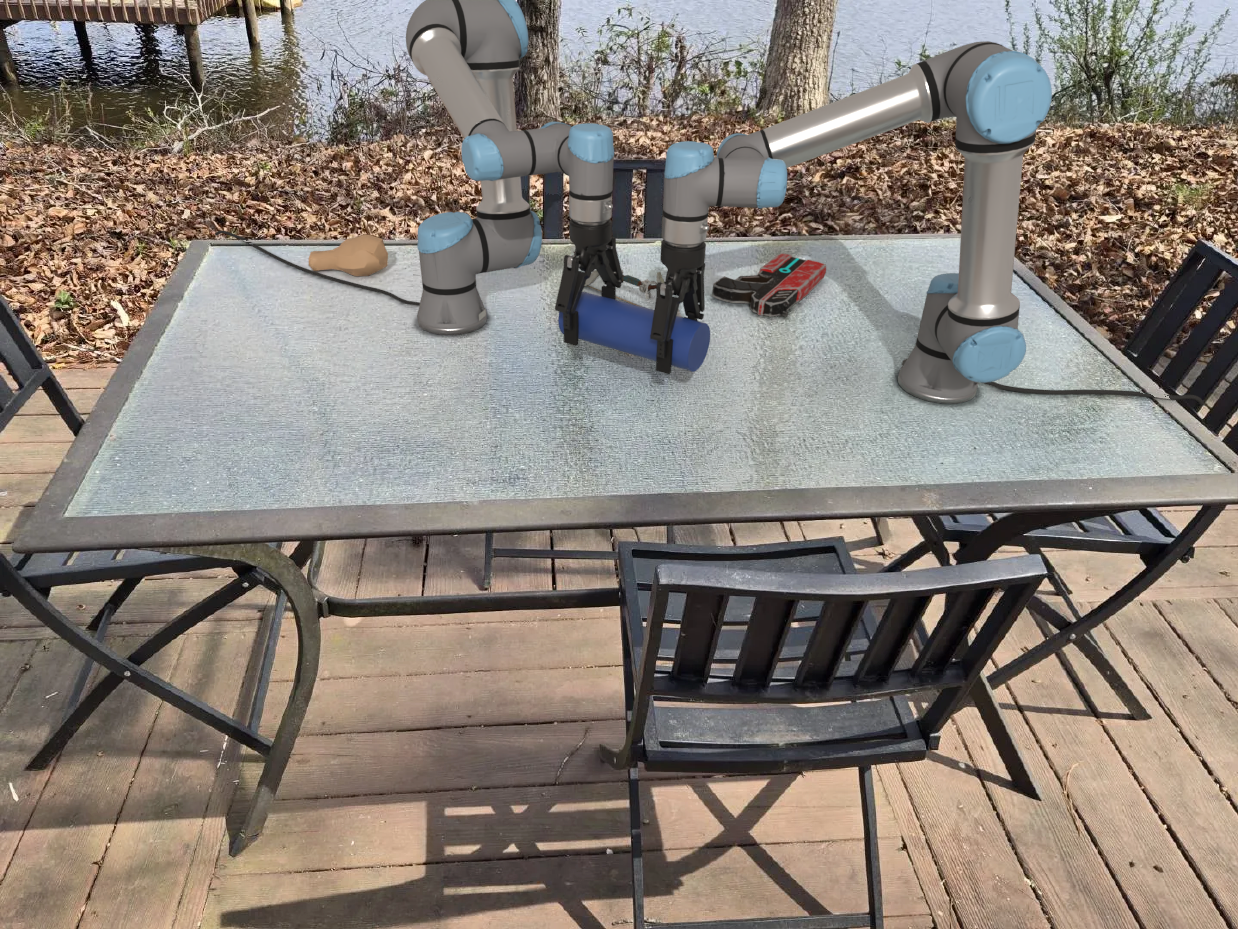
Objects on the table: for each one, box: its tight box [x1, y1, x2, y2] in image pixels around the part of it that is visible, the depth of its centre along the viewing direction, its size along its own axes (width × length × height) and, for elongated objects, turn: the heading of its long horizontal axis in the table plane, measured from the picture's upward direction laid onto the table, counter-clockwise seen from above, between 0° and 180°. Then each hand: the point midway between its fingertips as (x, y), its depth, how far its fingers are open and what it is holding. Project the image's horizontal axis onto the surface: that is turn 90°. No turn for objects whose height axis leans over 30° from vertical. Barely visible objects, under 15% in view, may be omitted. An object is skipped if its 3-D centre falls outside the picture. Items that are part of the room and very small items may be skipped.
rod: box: [557, 290, 711, 373], centre depth 160 cm, size 27×9×9 cm, turn 59°
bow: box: [584, 269, 683, 317], centre depth 205 cm, size 39×2×10 cm, turn 47°
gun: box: [711, 252, 827, 318], centre depth 215 cm, size 4×31×19 cm
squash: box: [308, 233, 389, 277], centre depth 218 cm, size 11×20×9 cm, turn 90°
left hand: (590, 331), depth 166 cm, fingers open, 12 cm apart
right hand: (675, 361), depth 159 cm, fingers closed on rod, 9 cm apart
